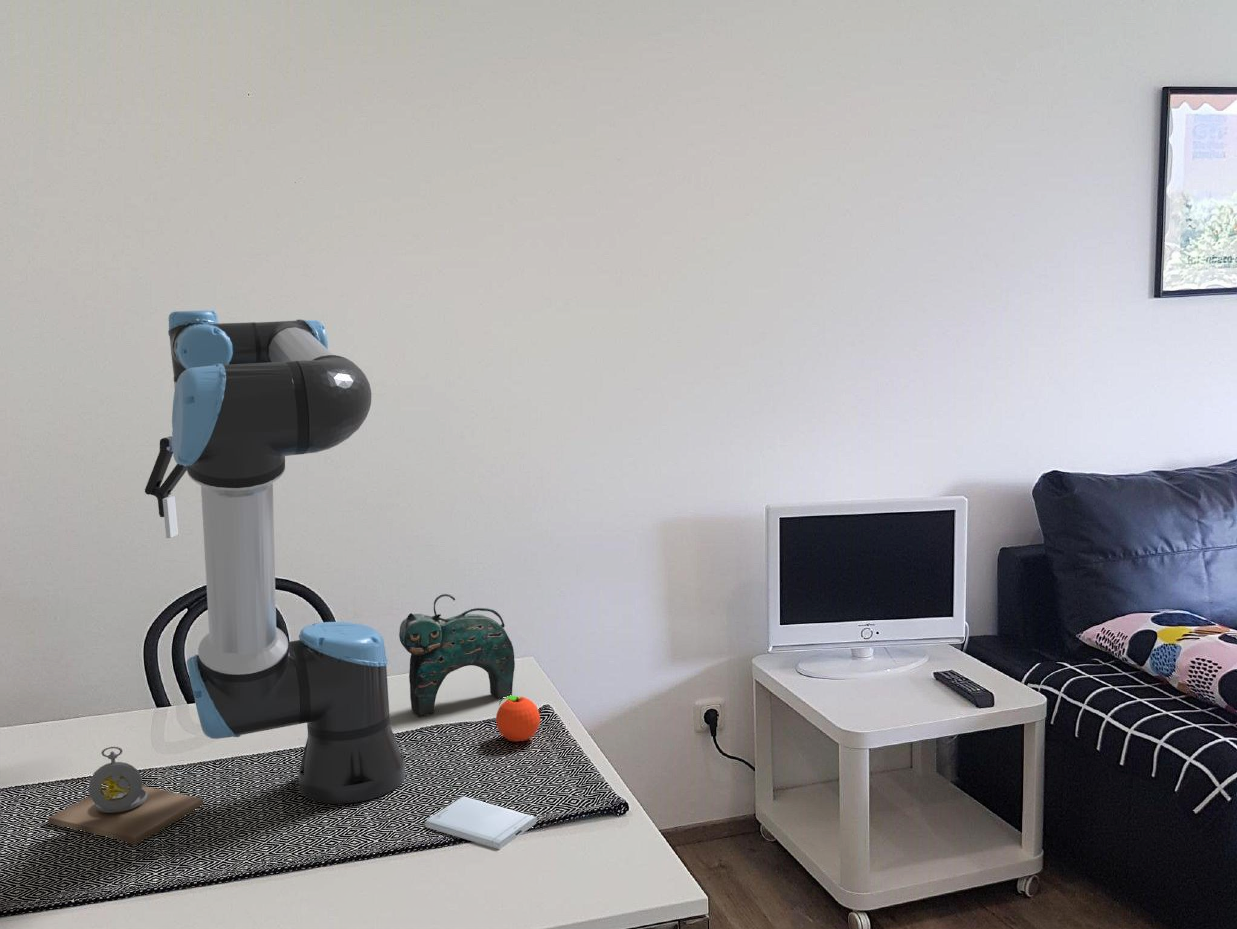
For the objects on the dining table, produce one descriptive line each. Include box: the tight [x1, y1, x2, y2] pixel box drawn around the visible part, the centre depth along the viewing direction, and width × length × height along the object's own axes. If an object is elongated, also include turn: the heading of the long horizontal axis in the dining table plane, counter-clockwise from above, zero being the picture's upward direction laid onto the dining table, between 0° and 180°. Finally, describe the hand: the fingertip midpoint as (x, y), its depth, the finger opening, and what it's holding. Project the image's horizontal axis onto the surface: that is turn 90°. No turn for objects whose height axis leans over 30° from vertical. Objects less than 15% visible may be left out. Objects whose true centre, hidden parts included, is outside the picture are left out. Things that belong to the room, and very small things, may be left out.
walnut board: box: [47, 785, 204, 846], centre depth 154 cm, size 16×12×1 cm
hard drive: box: [425, 796, 538, 850], centre depth 148 cm, size 2×8×12 cm
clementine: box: [495, 695, 541, 743], centre depth 176 cm, size 8×7×7 cm
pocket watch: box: [88, 746, 148, 813], centre depth 153 cm, size 8×8×10 cm
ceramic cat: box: [398, 593, 516, 718], centre depth 191 cm, size 20×6×20 cm, turn 119°
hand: (212, 536), depth 183 cm, fingers open, 13 cm apart
